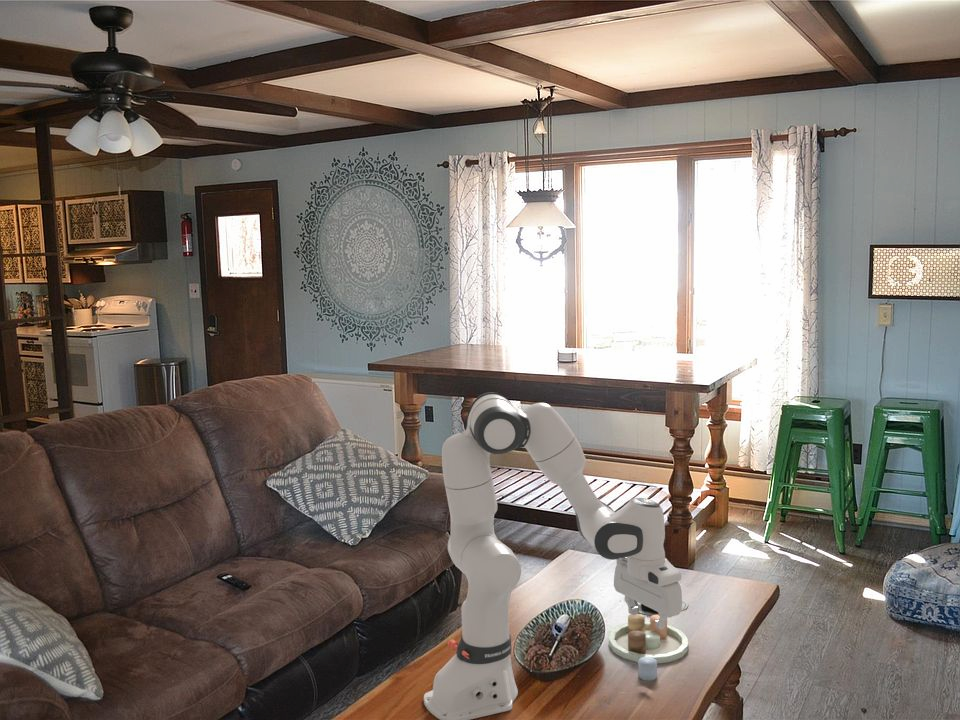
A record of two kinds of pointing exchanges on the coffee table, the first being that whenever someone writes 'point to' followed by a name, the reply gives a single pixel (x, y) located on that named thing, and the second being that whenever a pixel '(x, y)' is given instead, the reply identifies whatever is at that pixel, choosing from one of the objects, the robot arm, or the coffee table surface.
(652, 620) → the terracotta bead
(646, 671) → the slate-blue bead
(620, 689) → the coffee table surface
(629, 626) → the honey oak bead
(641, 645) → the walnut bead
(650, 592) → the robot arm
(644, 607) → the salad plate
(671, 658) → the ring dish
